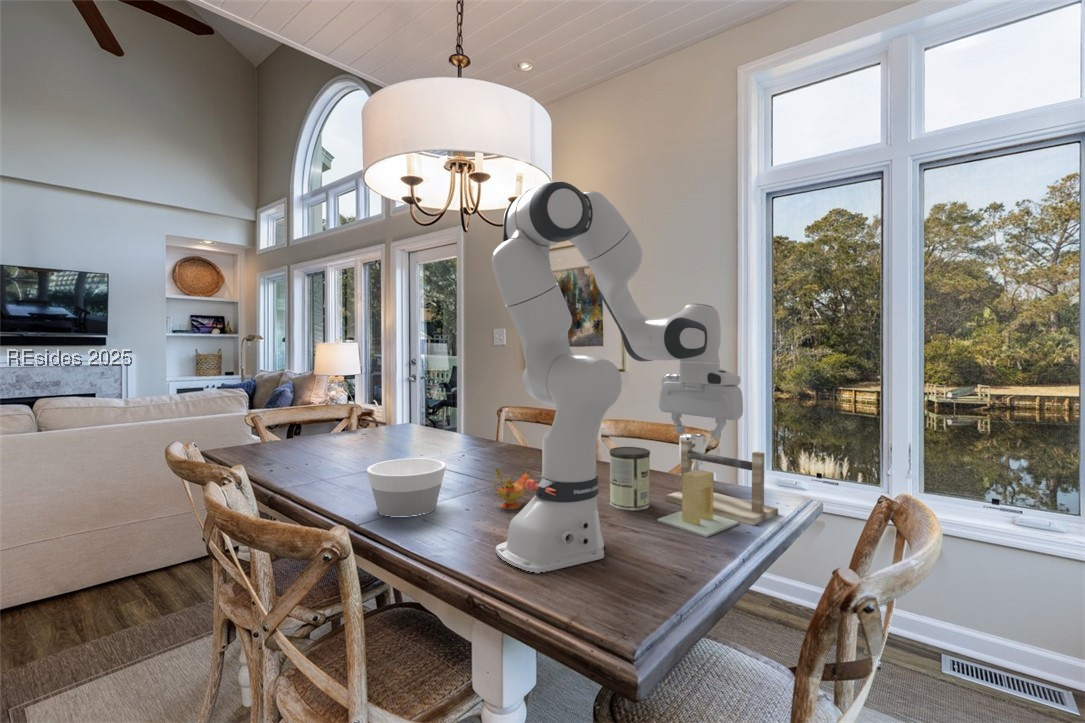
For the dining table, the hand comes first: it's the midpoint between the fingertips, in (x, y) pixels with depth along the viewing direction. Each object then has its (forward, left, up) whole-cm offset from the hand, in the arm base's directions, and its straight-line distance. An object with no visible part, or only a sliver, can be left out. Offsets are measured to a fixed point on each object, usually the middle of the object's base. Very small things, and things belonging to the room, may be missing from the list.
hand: (697, 435), depth 115 cm
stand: (+14, +3, -20) cm, 25 cm away
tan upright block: (0, 0, -20) cm, 20 cm away
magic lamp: (-25, +38, -20) cm, 50 cm away
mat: (0, 0, -20) cm, 20 cm away
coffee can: (-2, +19, -21) cm, 28 cm away
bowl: (-48, +52, -21) cm, 73 cm away
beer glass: (+25, +19, -20) cm, 38 cm away
